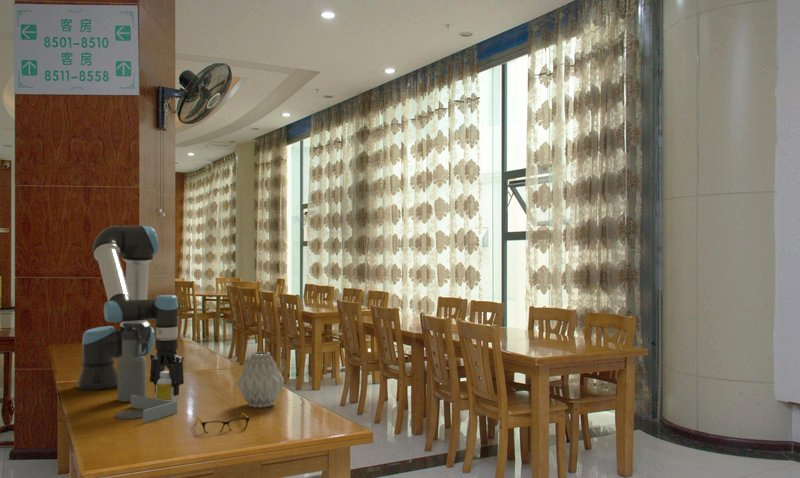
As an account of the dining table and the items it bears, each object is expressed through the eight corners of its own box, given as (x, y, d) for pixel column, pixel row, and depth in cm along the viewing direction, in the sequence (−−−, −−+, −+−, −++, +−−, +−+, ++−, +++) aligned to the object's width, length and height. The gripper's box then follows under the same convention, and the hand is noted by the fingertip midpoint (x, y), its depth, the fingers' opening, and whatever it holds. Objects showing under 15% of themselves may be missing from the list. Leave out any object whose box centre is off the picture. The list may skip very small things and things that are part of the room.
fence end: (142, 422, 217) (142, 410, 217) (175, 412, 229) (175, 401, 229) (144, 423, 216) (144, 410, 216) (177, 413, 229) (177, 401, 229)
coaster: (107, 417, 224) (107, 415, 224) (134, 409, 234) (134, 408, 234) (131, 421, 219) (131, 419, 219) (157, 413, 229) (157, 412, 229)
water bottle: (152, 397, 252) (152, 322, 252) (134, 403, 242) (134, 325, 242) (130, 395, 255) (130, 321, 255) (111, 401, 246) (111, 324, 246)
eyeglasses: (202, 436, 204) (202, 422, 204) (196, 424, 217) (196, 411, 217) (249, 430, 209) (249, 417, 209) (241, 419, 223) (241, 407, 223)
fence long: (130, 406, 237) (130, 395, 237) (132, 406, 238) (132, 395, 238) (170, 413, 229) (170, 401, 229) (172, 412, 230) (172, 400, 230)
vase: (244, 413, 229) (244, 358, 229) (232, 402, 243) (232, 351, 243) (290, 407, 236) (290, 354, 236) (276, 398, 251) (276, 348, 251)
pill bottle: (170, 407, 237) (170, 373, 237) (153, 406, 238) (153, 373, 238) (179, 402, 244) (179, 370, 244) (163, 401, 245) (163, 369, 245)
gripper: (138, 338, 242) (138, 402, 242) (179, 341, 233) (179, 408, 233) (154, 335, 249) (154, 398, 249) (194, 339, 240) (194, 404, 240)
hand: (166, 403), depth 241 cm, fingers closed on pill bottle, 6 cm apart
